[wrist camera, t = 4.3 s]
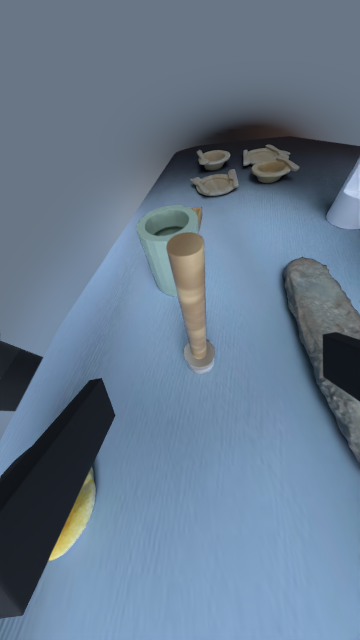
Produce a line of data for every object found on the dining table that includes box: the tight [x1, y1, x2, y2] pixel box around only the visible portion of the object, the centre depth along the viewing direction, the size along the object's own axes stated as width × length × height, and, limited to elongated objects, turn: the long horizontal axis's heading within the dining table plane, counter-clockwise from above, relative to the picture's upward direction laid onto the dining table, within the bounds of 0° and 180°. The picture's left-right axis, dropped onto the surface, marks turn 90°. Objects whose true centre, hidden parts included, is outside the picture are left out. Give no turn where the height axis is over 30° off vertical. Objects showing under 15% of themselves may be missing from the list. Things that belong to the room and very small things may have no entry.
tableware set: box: [190, 145, 299, 196], centre depth 58 cm, size 35×29×4 cm
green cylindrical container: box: [137, 205, 199, 296], centre depth 33 cm, size 10×10×13 cm
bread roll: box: [48, 467, 96, 561], centre depth 20 cm, size 8×9×4 cm
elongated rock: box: [283, 257, 360, 463], centre depth 25 cm, size 35×5×10 cm
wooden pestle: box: [166, 232, 215, 374], centre depth 19 cm, size 5×5×22 cm
